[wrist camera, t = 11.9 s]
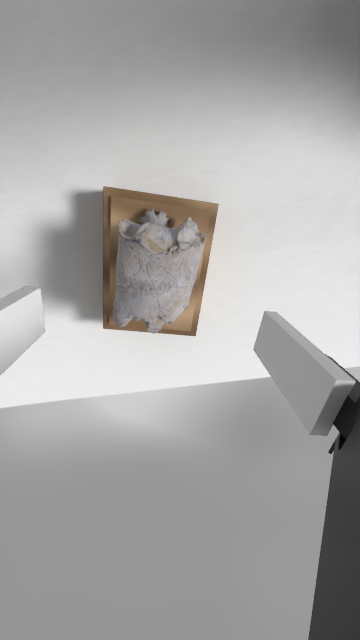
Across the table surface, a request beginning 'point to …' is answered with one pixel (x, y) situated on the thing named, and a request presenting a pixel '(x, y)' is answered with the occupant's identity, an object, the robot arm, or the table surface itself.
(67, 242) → the table surface
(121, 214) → the walnut slab
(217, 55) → the table surface
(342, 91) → the table surface
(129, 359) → the table surface
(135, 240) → the stone
